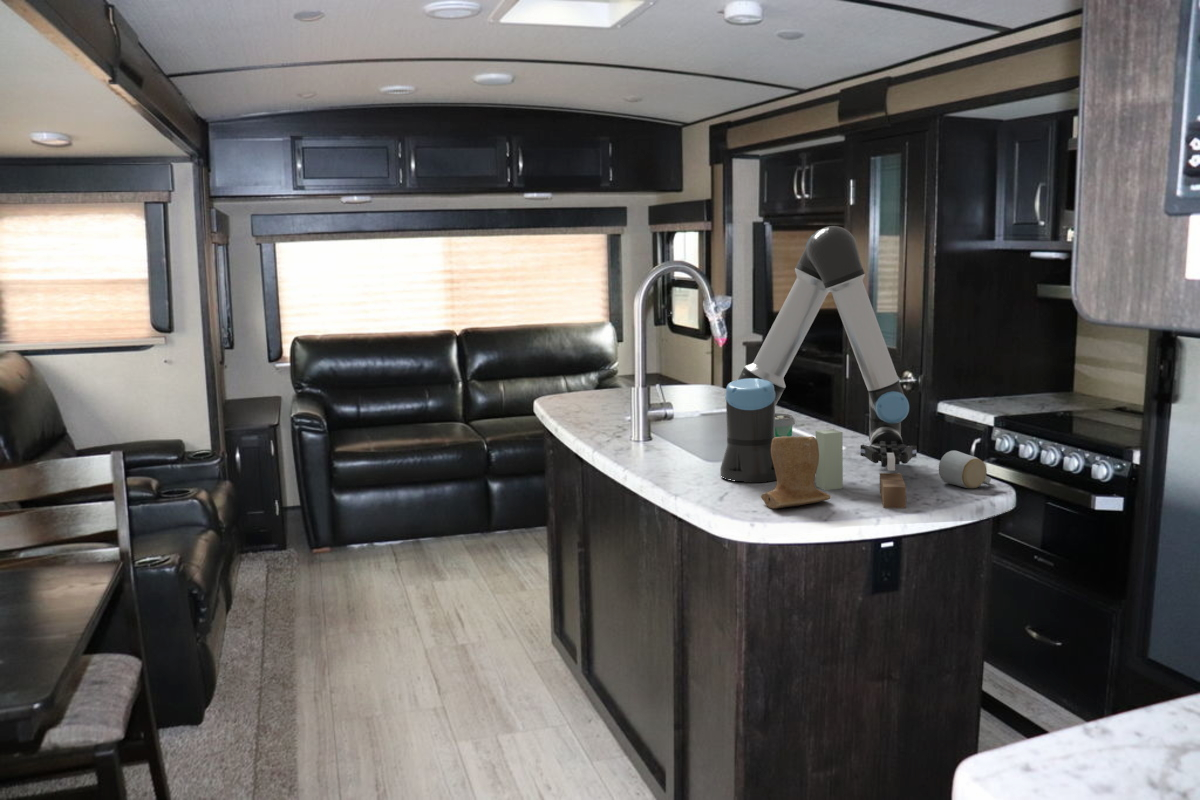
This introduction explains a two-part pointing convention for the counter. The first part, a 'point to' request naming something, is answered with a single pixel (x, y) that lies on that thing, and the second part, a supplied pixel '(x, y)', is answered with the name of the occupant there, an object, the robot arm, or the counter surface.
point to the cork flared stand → (794, 472)
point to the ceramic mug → (962, 470)
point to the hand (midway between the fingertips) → (891, 464)
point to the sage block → (830, 459)
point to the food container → (783, 424)
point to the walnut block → (892, 490)
